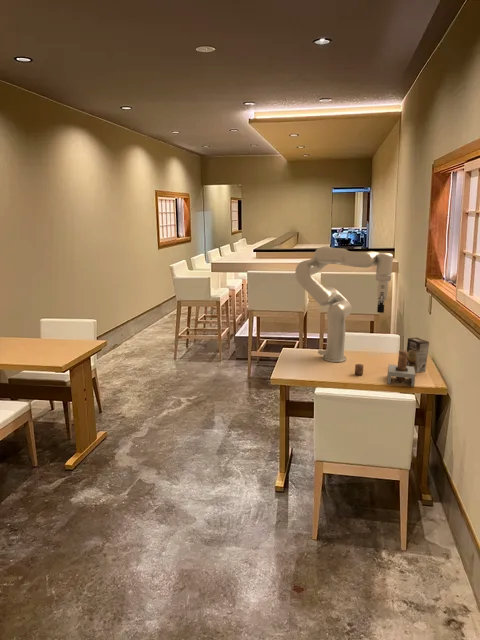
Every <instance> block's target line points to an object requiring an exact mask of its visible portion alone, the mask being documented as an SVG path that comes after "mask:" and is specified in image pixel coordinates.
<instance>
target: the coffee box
mask: <svg viewBox="0 0 480 640" xmlns="http://www.w3.org/2000/svg"><path fill="white" fill-rule="evenodd" d="M429 347H430V341H428V340H425V339H422V338H419V337H417V336H416V337H408V338H407V344H406V351H407V352H408V355H407V364H406V366H410V367H414V370H415V374H416V373H423V372H424V373H425V372H426V369H427V362H428V354H429Z"/></svg>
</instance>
